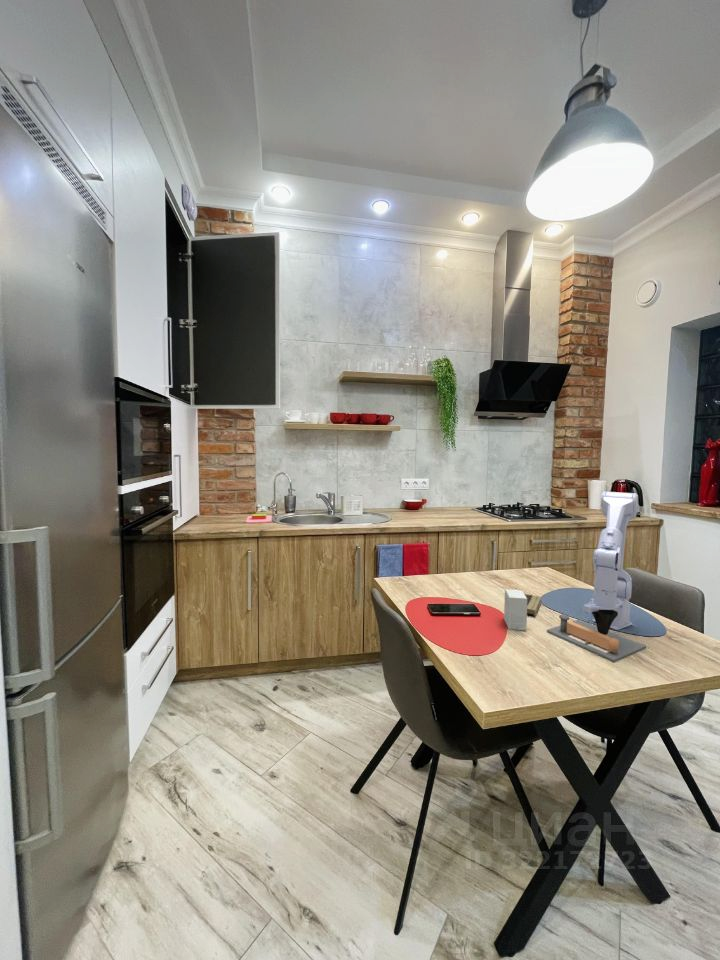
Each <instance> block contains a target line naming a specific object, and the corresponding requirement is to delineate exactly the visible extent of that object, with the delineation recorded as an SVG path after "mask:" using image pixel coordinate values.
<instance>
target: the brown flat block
mask: <svg viewBox="0 0 720 960" xmlns="http://www.w3.org/2000/svg"><path fill="white" fill-rule="evenodd" d="M525 596H526V597H527V617H532V618H537V614H538V612H539V610H540V607H541V604H542V597H541V596H539V595H532V594H525Z"/></svg>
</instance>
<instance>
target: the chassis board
mask: <svg viewBox="0 0 720 960" xmlns="http://www.w3.org/2000/svg"><path fill="white" fill-rule="evenodd" d="M558 618H559V619H560V625H558V626H554V627H550V628H547V629H546V633H549V634H551V635H554V636H556V637H557V638H560V639H562V640H564V641H566V642H568V643H571V644H573V645H575V646H578V647H579V648H581V649H583V650H586V651H588V652H591V653H593V654H595V655H598V656H599V657H602V658H603V659H606V660H608V661H610V662H613V663H615V662H618V661H620V660H623V659H625V658H626V657H629V656H631V655H633V654H637V653H638V652H640V651H643V650H645V649H647V645H646V644H642V643H640V642H638V641H636V640H635V641H634V640H632V639H630V638H627V637H625V636H622V635H620V634H617V633H614V632H612V631H610V630H609V632H608V634H607V635H606V636H609V637H612V638H616V639H618V640H619V647H618V653H614V652H611V651H609V650H607V649H604V648H602V647H600V646H598V645H595V644H593V643H591V642H588V641H586V640H584V639H581V638H579V637H577V636H574V635H572V634H570V633H568V632H567V622H568V621H569V620H570V616H568V615H566V614H559V617H558ZM572 622H574V623H576V624H579V625H581V626H584V627H586V628H589V629H591V630H594V631H596V632H598V629H597V625H594V624H592V623H589V622H586V621H584V620H581V619H576V620H573V621H572Z"/></svg>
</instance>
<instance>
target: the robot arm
mask: <svg viewBox="0 0 720 960" xmlns="http://www.w3.org/2000/svg"><path fill="white" fill-rule="evenodd" d="M638 504H639V495H638V494H637V492H634V493H633V492H619V491H617V492H616V491H607V490H604V491H603V492H602V493H601V496H600V507H601V511H602V515H603V516H604V517H606V525H605V526H606V528H603V529H602V530H600V535H599V540H598V545H597V548H595V549H594V551H593V557H592V561H593V573H594V583H593V598H590V601H589V602H588V603H586V604H583V605H582V607H583V608H582V611H583V612H585V613H586V614H592V616H593V618H592V622H595V626H597V629H598V632H599V633H601V634H604V635H607V634H608V632H609V631H610V629H613V630H614V631H619V630H622V629H624V628H627V627H630V626H632V625H633V622H631V621H630V617H631V602H630V599H631V598H632V590H633V583H632V581H633V579H632V577H631V575H630V574H629V573H628V572H627V571H626V570H624V558H625V557H624V556H625V546H626V536H627V528H628V527H627V526H628V524H629V522H630V521H631V520H635V519H636V516H637V514H638V513H637V512H638Z"/></svg>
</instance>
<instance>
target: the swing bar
mask: <svg viewBox="0 0 720 960" xmlns="http://www.w3.org/2000/svg"><path fill="white" fill-rule="evenodd" d="M567 632H568V633H570V634H572V635H574V636H577V637H579V638H581V639H584V640H586V641H588V642H591V643H593V644H595V645H598V646H600V647H602V648H604V649H607V650H609V651H611V652H614V653H618V647H619V640H618V639H616V638H612V637H609V636H606V635H604V634H601V633H599V632H596V631H594V630H591V629H589V628H586V627H584V626H581V625H579V624H576V623H574V622H573V621H571V620H570V621H567Z"/></svg>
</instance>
